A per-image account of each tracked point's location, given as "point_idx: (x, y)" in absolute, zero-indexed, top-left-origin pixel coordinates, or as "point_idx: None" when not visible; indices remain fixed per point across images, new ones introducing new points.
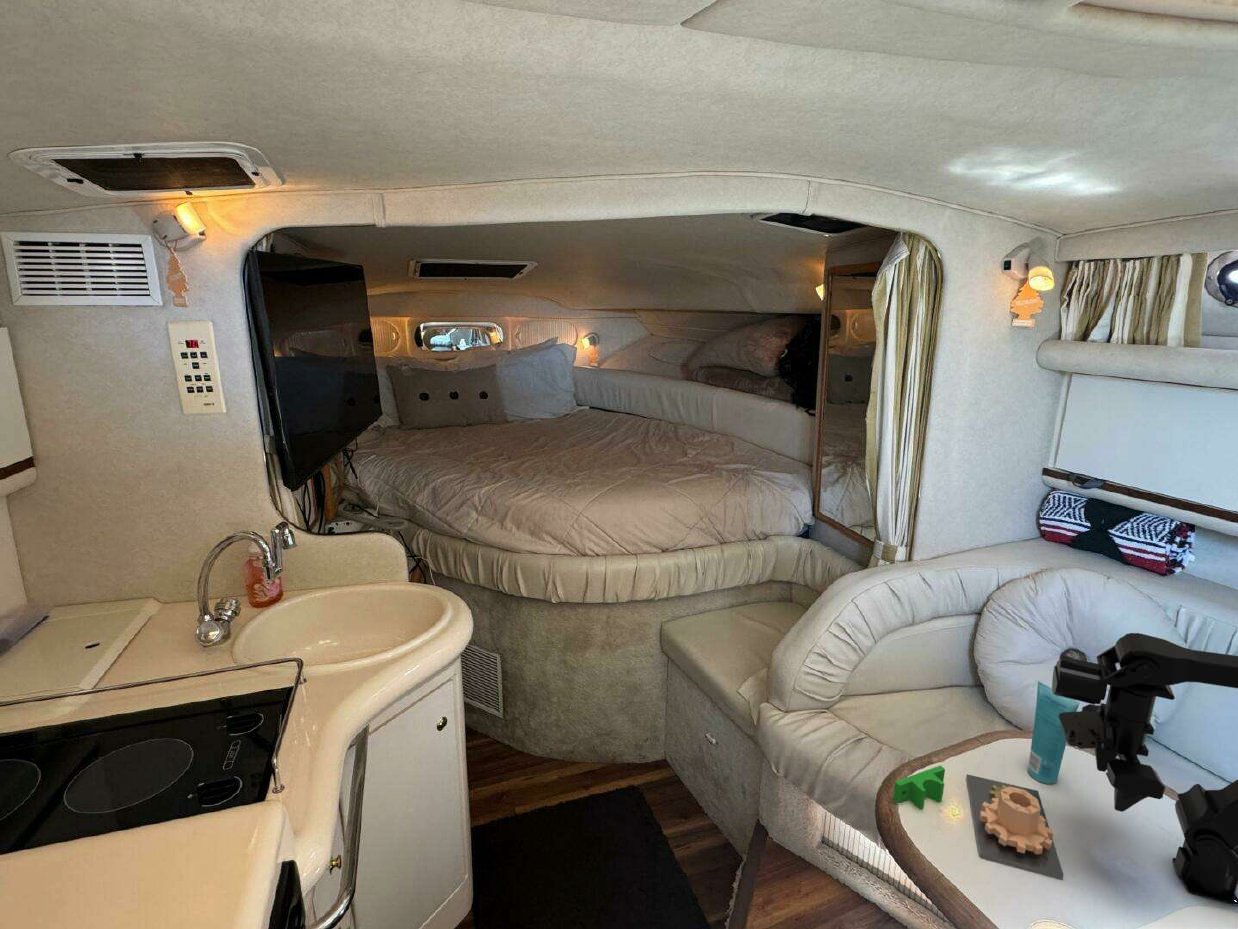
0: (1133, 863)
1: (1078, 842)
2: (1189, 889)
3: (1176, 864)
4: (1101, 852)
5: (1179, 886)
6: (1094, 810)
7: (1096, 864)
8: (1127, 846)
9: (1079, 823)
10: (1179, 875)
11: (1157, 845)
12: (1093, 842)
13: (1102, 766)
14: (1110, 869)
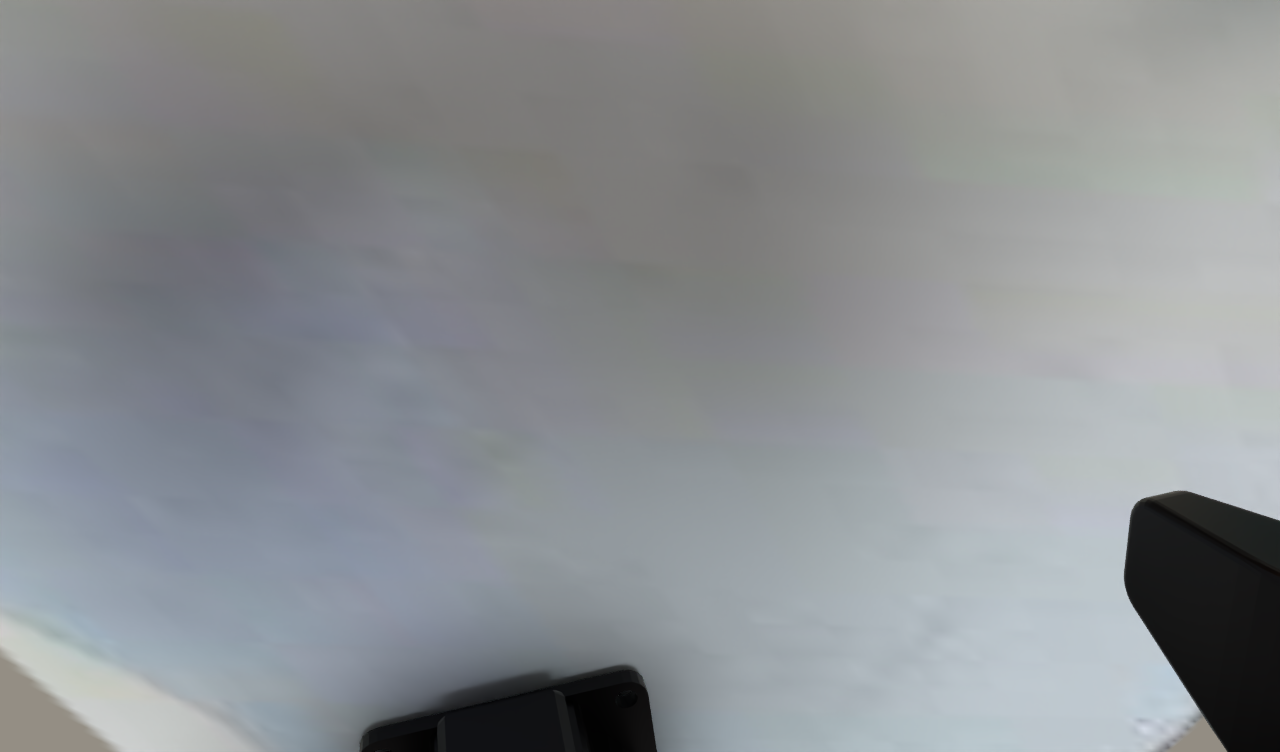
0: (461, 463)
1: (472, 79)
2: (370, 750)
3: (526, 727)
4: (451, 257)
5: (398, 690)
6: (965, 240)
7: (259, 209)
8: (638, 436)
9: (745, 109)
10: (455, 720)
11: (750, 599)
12: (547, 205)
13: (1204, 621)
14: (271, 310)
